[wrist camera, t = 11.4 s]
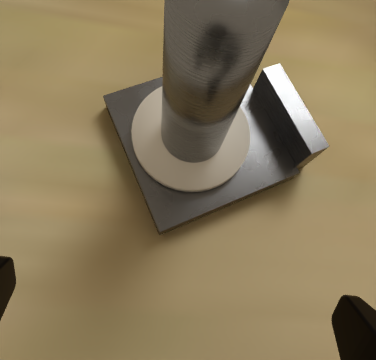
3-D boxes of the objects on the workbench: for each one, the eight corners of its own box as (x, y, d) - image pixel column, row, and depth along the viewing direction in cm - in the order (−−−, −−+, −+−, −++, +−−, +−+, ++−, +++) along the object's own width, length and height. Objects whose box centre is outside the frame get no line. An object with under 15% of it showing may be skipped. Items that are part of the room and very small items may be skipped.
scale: (309, 171, 25) (336, 151, 21) (159, 235, 23) (159, 225, 19) (246, 60, 28) (260, 25, 24) (106, 106, 25) (97, 75, 21)
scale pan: (267, 166, 23) (270, 162, 22) (159, 210, 21) (159, 208, 21) (217, 73, 25) (219, 66, 24) (115, 107, 24) (113, 101, 23)
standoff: (233, 149, 22) (312, 13, 11) (176, 172, 22) (197, 48, 10) (207, 98, 24) (255, -75, 12) (151, 117, 23) (145, -50, 11)
